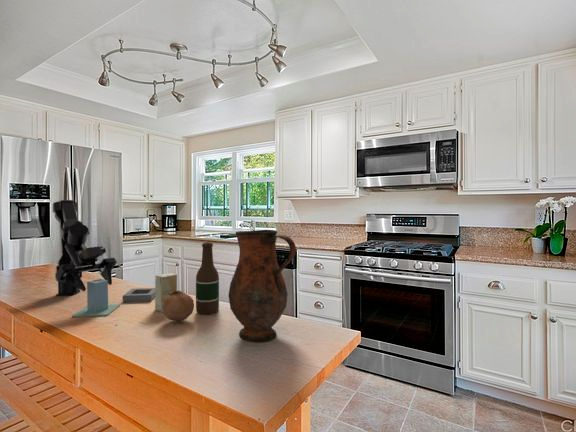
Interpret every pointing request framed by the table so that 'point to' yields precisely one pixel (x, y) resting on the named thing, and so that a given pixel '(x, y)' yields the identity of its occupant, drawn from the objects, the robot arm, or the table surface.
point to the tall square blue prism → (97, 295)
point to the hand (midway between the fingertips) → (98, 287)
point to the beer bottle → (207, 284)
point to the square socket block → (139, 295)
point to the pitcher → (259, 284)
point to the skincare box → (164, 288)
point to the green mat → (86, 313)
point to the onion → (178, 306)
